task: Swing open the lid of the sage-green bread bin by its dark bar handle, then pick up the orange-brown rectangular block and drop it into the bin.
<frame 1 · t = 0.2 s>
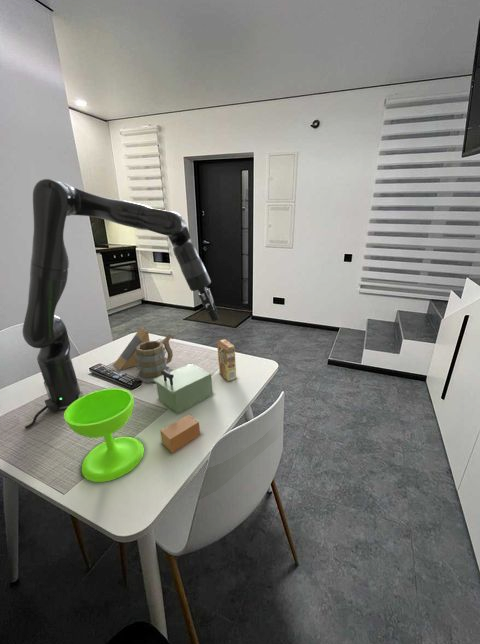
hand: (215, 316, 101), 31 cm above the table, tool tilted 20°, fingers open, 8 cm apart
lid: (182, 372, 104), point 11 cm above the table, hinge at 0.0°
orange-brown rectangular block: (181, 439, 88), on the table
candy box: (227, 376, 123), on the table
wineglass: (114, 458, 81), on the table
bread bin: (186, 396, 109), on the table
tankard: (161, 371, 127), on the table
sandwich container: (133, 362, 135), on the table
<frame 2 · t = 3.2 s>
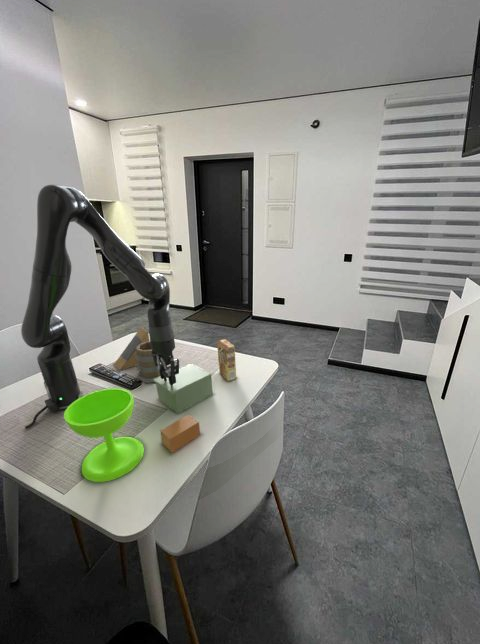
hand: (168, 380, 100), 10 cm above the table, tool pointing down, fingers closed on lid, 5 cm apart
lid: (182, 372, 104), point 11 cm above the table, hinge at 0.0°, touching gripper
everything else where it was.
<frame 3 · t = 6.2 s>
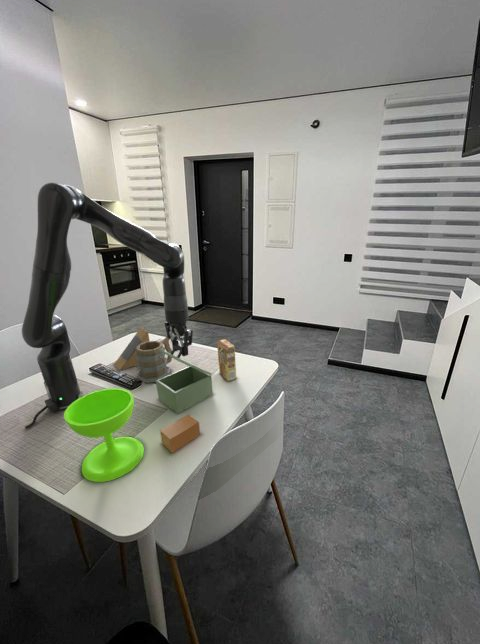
hand: (180, 352, 101), 19 cm above the table, tool pointing down, fingers closed on lid, 5 cm apart
lid: (188, 357, 105), point 16 cm above the table, hinge at 41.2°, touching gripper
everything else where it was.
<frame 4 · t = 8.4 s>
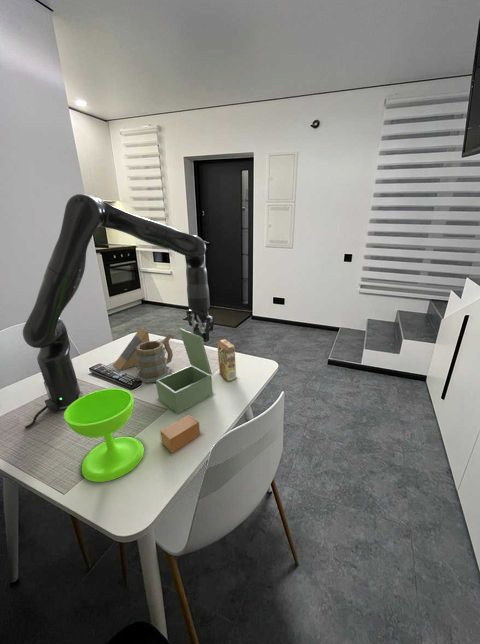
hand: (201, 339, 107), 21 cm above the table, tool pointing down, fingers closed on lid, 5 cm apart
lid: (200, 348, 108), point 17 cm above the table, hinge at 78.9°, touching gripper
everything else where it was.
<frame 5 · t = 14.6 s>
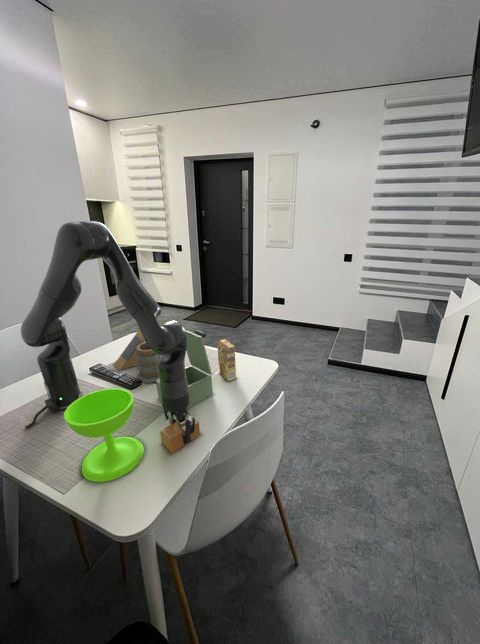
hand: (181, 437, 87), 1 cm above the table, tool pointing down, fingers closed on orange-brown rectangular block, 5 cm apart
lid: (200, 348, 108), point 17 cm above the table, hinge at 79.4°
orange-brown rectangular block: (181, 439, 88), on the table, touching gripper
everything else where it was.
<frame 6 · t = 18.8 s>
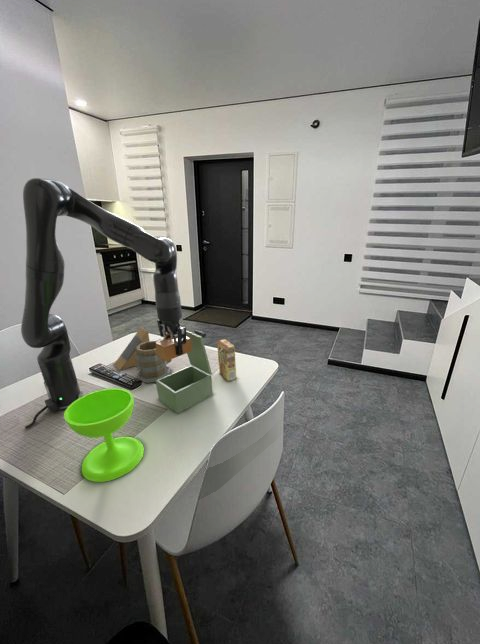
hand: (174, 351, 97), 21 cm above the table, tool pointing down, fingers closed on orange-brown rectangular block, 5 cm apart
orange-brown rectangular block: (174, 353, 97), point 20 cm above the table, touching gripper
everything else where it was.
when the fingers open (6 cm above the table, at t = 22.9 s): orange-brown rectangular block drops 5 cm, resting on bread bin.
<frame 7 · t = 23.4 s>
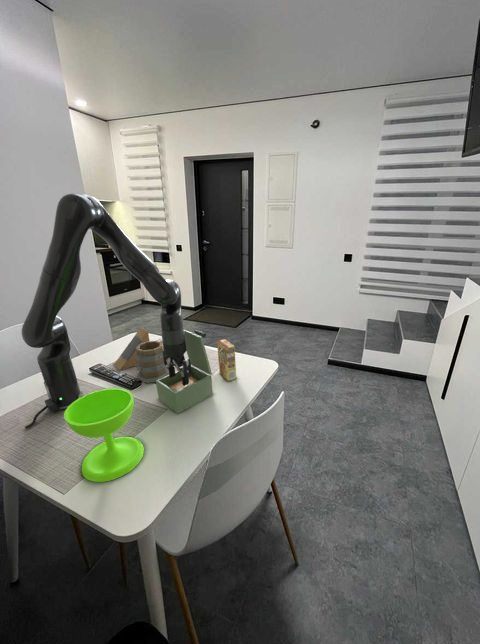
hand: (179, 380, 104), 8 cm above the table, tool pointing down, fingers open, 8 cm apart
orange-brown rectangular block: (185, 395, 108), point 1 cm above the table, touching bread bin
everything else where it was.
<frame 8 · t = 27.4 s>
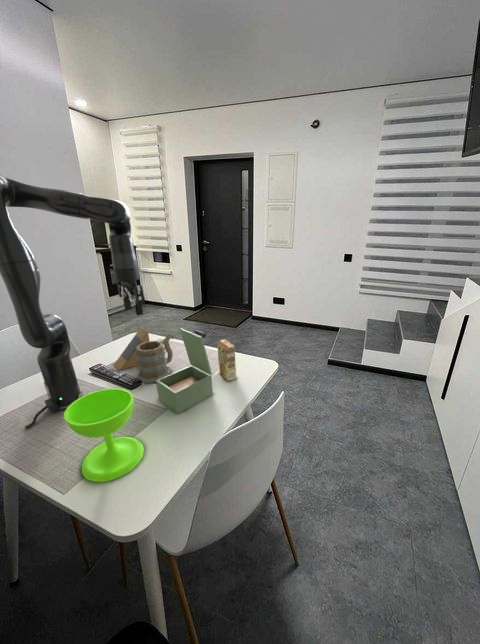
hand: (134, 312, 101), 32 cm above the table, tool pointing down, fingers open, 8 cm apart
nothing on the table moved.
at the end: lid at +79° (first picture: +0°); orange-brown rectangular block inside the target area in the bread bin (0.2 cm from its centre), point 0.8 cm above the bread bin's base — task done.
